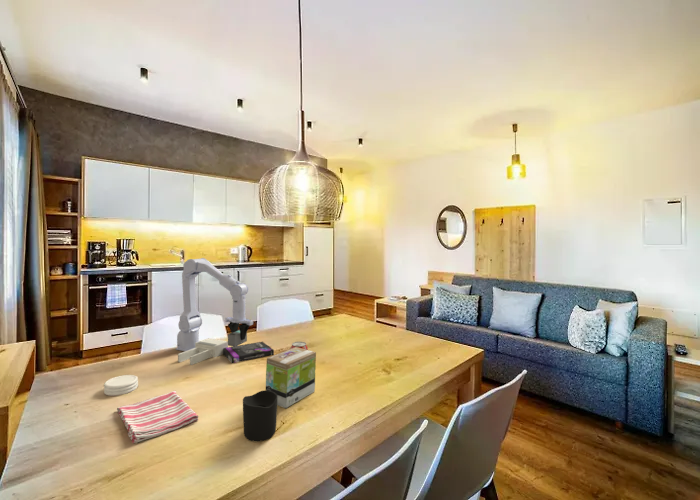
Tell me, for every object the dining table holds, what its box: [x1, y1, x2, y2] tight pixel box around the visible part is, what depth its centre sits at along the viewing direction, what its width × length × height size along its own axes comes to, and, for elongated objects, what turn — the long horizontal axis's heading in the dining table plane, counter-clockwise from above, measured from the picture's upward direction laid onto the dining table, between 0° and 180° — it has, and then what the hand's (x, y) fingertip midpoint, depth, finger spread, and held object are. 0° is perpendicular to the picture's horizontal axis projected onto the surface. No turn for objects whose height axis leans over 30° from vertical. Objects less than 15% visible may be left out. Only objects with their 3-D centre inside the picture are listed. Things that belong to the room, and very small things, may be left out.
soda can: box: [289, 341, 309, 350], centre depth 134 cm, size 7×7×12 cm
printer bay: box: [177, 337, 229, 366], centre depth 150 cm, size 12×19×5 cm, turn 157°
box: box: [222, 341, 275, 364], centre depth 154 cm, size 14×4×20 cm
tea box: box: [265, 347, 317, 409], centre depth 114 cm, size 15×10×15 cm, turn 148°
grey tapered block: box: [227, 329, 248, 347], centre depth 153 cm, size 4×8×6 cm, turn 157°
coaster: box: [103, 374, 139, 397], centre depth 117 cm, size 10×10×4 cm
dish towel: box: [116, 390, 199, 444], centre depth 100 cm, size 17×23×4 cm
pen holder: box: [242, 389, 278, 443], centre depth 93 cm, size 9×9×10 cm
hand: (238, 338), depth 154 cm, fingers closed on grey tapered block, 4 cm apart
